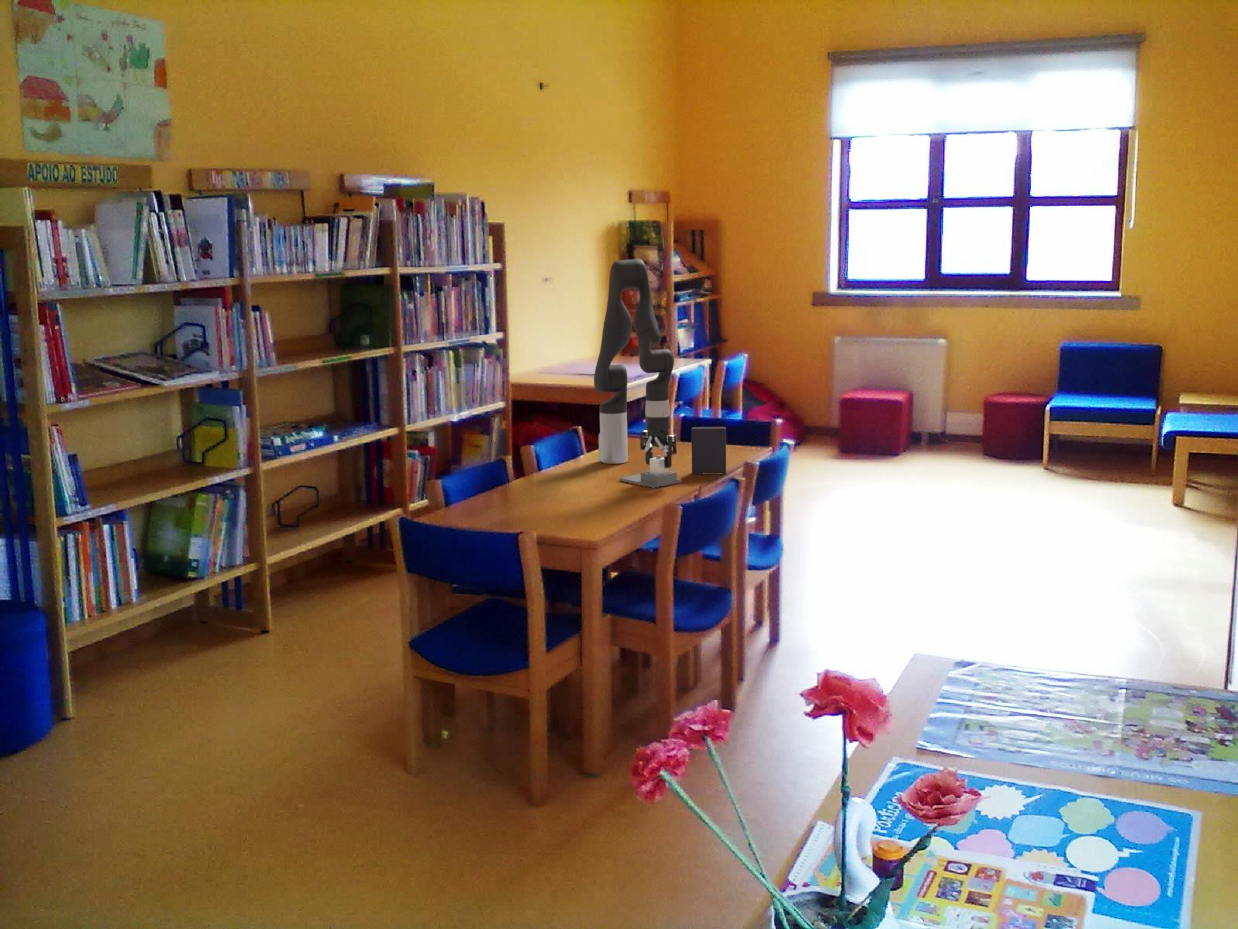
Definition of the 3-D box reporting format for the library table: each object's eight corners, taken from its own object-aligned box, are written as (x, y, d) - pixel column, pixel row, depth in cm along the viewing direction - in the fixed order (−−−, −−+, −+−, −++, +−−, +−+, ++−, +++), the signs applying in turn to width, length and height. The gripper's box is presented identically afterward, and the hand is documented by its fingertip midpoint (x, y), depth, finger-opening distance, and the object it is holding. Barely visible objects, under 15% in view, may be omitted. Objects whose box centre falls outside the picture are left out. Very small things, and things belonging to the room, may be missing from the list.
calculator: (726, 472, 389) (725, 426, 387) (726, 474, 385) (725, 428, 382) (692, 472, 391) (691, 426, 388) (691, 474, 386) (691, 428, 383)
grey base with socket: (619, 481, 379) (618, 470, 378) (647, 475, 387) (647, 464, 386) (653, 488, 367) (652, 477, 366) (681, 482, 375) (681, 471, 374)
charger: (650, 480, 374) (649, 455, 372) (659, 478, 376) (659, 454, 375) (658, 482, 371) (658, 457, 369) (668, 480, 373) (667, 455, 372)
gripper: (633, 413, 373) (634, 464, 376) (664, 418, 362) (665, 470, 365) (651, 410, 378) (652, 461, 381) (682, 415, 367) (683, 467, 370)
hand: (658, 466), depth 373 cm, fingers open, 8 cm apart
